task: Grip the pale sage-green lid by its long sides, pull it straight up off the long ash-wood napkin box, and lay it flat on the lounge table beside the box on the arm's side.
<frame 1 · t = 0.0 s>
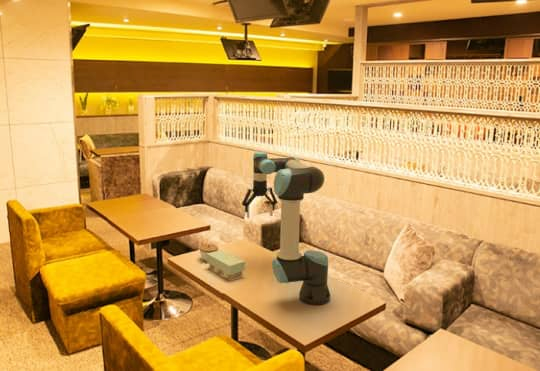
hand: (259, 216, 260), 28 cm above the table, fingers open, 13 cm apart
napkin box: (225, 273, 252), on the table
lidded jar: (209, 260, 270), on the table
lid: (225, 266, 251), point 4 cm above the table, touching napkin box
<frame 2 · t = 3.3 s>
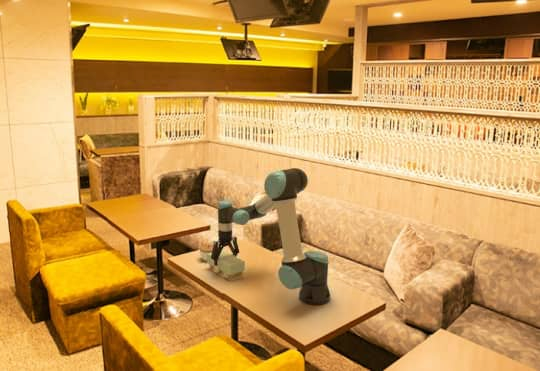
hand: (225, 268, 251), 3 cm above the table, fingers closed on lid, 10 cm apart
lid: (225, 266, 251), point 4 cm above the table, touching gripper, napkin box
everything else where it was.
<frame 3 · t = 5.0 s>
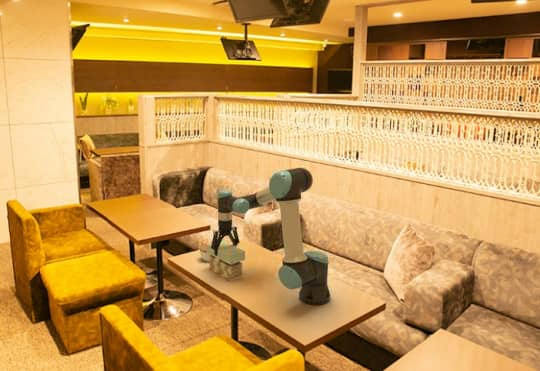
hand: (225, 258, 250), 8 cm above the table, fingers closed on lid, 10 cm apart
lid: (225, 256, 250), point 10 cm above the table, touching gripper
everything else where it was.
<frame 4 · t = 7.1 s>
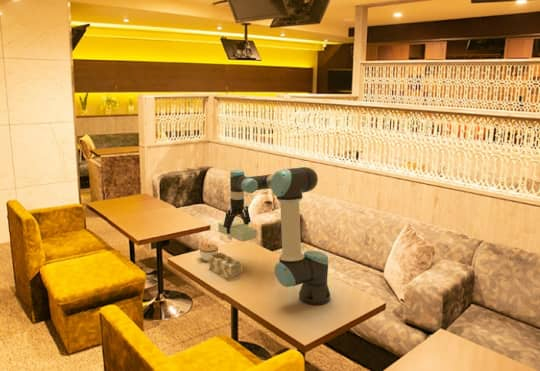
hand: (237, 236, 257), 18 cm above the table, fingers closed on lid, 10 cm apart
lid: (237, 234, 256), point 19 cm above the table, touching gripper
everything else where it was.
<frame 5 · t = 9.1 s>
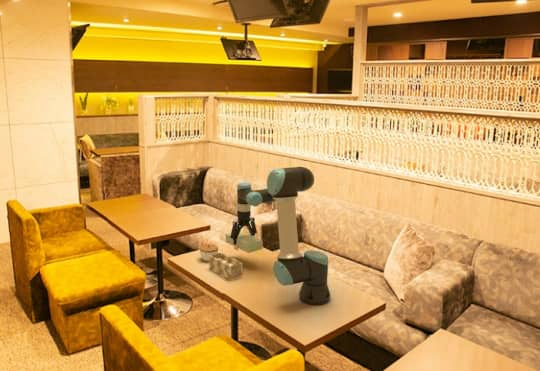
hand: (243, 247, 263), 10 cm above the table, fingers closed on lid, 10 cm apart
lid: (243, 245, 263), point 11 cm above the table, touching gripper
everything else where it was.
when the fingers open (3 cm above the table, at t = 10.9 s): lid drops 4 cm, on the table.
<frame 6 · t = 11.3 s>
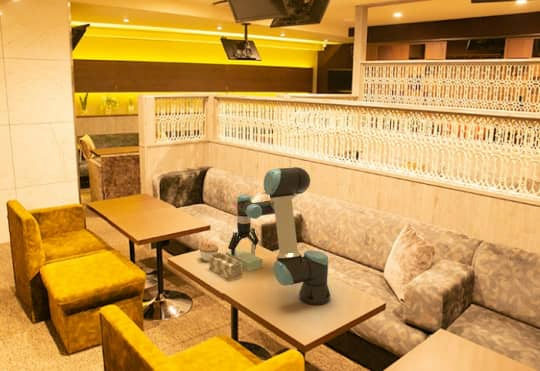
hand: (243, 257, 264), 4 cm above the table, fingers open, 13 cm apart
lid: (243, 263, 265), on the table
everything else where it was.
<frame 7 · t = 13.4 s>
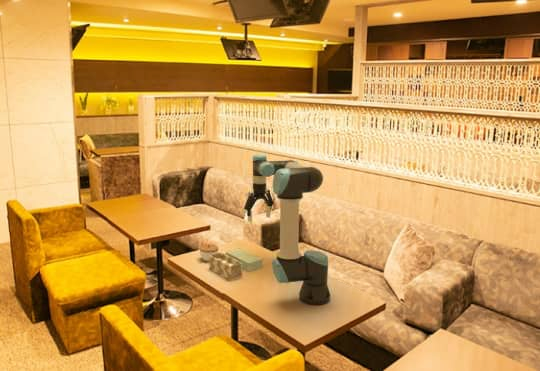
hand: (259, 219, 261), 26 cm above the table, fingers open, 13 cm apart
nothing on the table moved.
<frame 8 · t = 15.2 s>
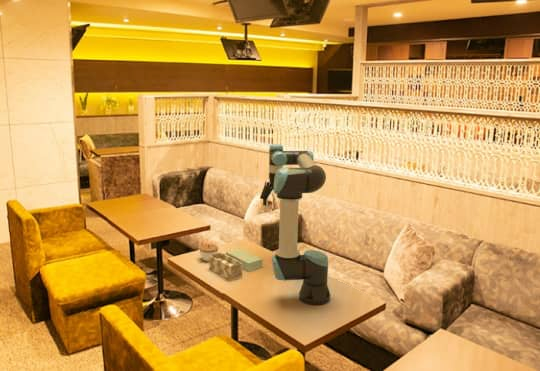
hand: (275, 208, 263), 32 cm above the table, fingers open, 13 cm apart
nothing on the table moved.
at the end: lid inside the target area (0.0 cm from its centre), on the table; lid tilted 0°; the gripper is holding nothing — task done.
